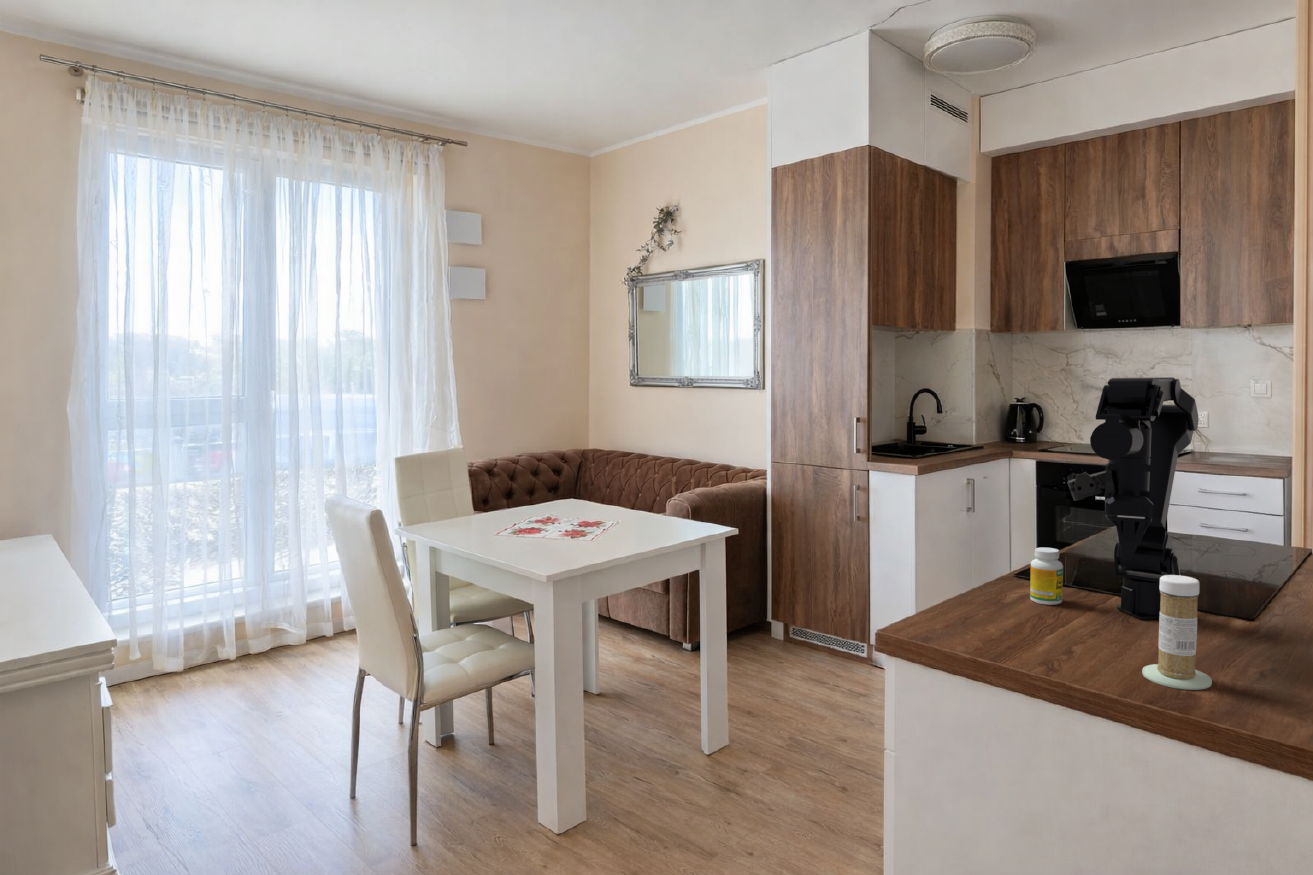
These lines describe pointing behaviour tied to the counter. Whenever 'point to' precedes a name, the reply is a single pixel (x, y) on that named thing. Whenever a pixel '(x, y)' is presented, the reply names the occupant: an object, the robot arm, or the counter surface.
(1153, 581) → the robot arm
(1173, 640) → the sprinkles bottle
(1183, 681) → the mat
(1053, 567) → the supplement bottle
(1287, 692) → the counter surface
